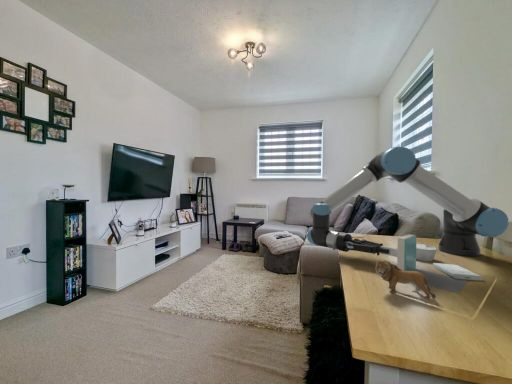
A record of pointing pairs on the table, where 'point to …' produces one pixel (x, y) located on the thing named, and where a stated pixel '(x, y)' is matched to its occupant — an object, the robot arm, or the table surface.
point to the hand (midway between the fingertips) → (400, 253)
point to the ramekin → (425, 252)
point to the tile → (406, 253)
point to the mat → (443, 281)
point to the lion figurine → (402, 277)
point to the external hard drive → (457, 271)
